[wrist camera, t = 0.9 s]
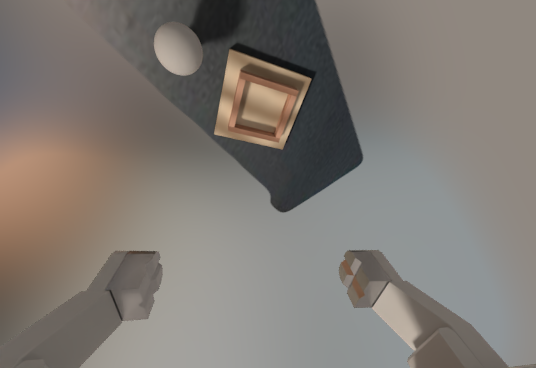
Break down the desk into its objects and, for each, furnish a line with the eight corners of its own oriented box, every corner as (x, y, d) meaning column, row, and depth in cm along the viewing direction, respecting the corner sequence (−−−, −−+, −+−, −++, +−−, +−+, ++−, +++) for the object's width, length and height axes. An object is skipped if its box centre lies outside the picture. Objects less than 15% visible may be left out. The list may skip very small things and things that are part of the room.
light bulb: (211, 60, 34) (208, 73, 27) (177, 69, 34) (164, 85, 27) (197, 15, 30) (188, 16, 23) (159, 25, 30) (137, 29, 23)
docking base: (229, 48, 34) (230, 51, 31) (309, 77, 38) (315, 81, 36) (214, 130, 42) (213, 138, 39) (281, 146, 47) (284, 154, 44)
